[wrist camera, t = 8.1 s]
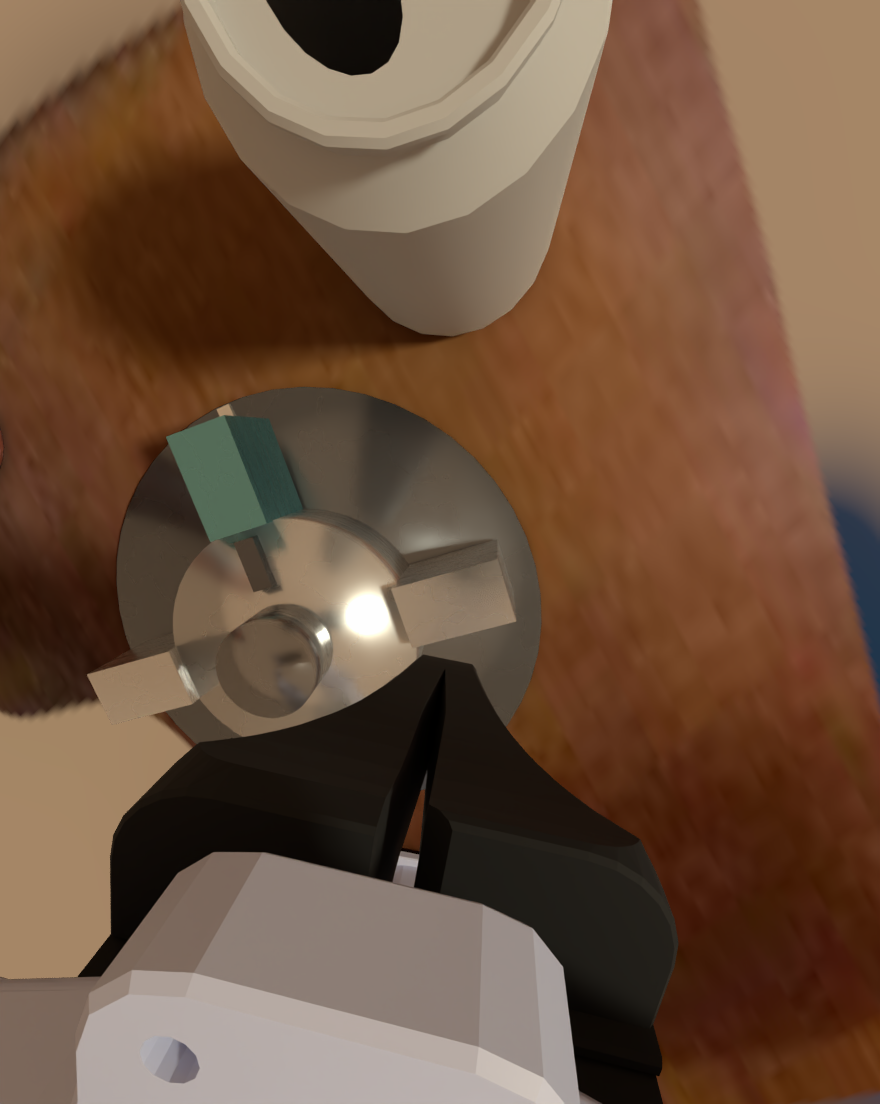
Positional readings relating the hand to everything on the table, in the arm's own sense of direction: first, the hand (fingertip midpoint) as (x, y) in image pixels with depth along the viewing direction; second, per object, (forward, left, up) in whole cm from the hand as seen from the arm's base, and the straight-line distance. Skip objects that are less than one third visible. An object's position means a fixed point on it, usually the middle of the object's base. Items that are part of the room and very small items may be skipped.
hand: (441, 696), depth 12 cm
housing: (-3, +6, -10) cm, 12 cm away
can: (+13, +2, -10) cm, 17 cm away
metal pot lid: (-3, +6, -10) cm, 12 cm away
